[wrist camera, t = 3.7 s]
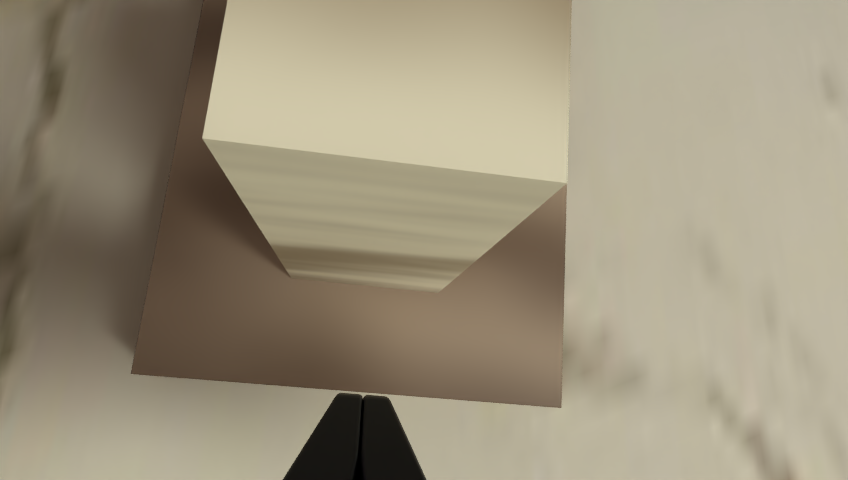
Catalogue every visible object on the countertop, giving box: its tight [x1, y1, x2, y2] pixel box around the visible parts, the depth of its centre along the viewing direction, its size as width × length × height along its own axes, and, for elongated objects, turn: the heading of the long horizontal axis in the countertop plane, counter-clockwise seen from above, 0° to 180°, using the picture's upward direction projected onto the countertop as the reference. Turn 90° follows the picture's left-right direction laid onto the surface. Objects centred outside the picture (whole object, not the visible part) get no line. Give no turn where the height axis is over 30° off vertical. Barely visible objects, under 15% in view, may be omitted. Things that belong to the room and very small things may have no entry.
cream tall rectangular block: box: [202, 0, 572, 293], centre depth 14 cm, size 5×5×12 cm
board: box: [131, 0, 567, 408], centre depth 21 cm, size 24×14×6 cm, turn 175°
